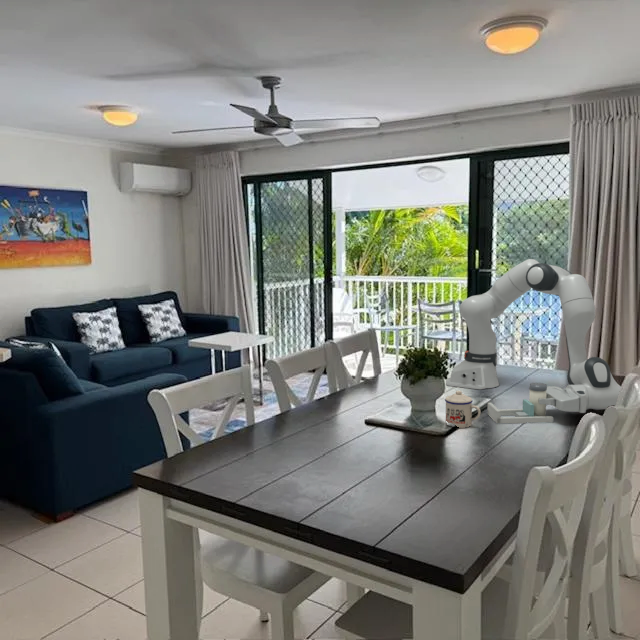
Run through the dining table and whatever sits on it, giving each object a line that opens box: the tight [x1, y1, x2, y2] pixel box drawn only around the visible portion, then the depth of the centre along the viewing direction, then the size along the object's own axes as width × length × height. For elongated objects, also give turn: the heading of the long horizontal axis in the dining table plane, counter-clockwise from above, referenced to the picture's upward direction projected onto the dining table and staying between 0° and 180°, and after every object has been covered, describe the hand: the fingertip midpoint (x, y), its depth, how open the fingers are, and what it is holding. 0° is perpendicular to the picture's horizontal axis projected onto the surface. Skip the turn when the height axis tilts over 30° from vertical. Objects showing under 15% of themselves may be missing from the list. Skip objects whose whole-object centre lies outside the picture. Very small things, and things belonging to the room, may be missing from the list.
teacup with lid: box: [444, 390, 481, 429], centre depth 205 cm, size 12×9×12 cm
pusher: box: [514, 399, 534, 417], centre depth 211 cm, size 4×7×6 cm, turn 1°
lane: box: [487, 402, 554, 424], centre depth 212 cm, size 19×11×4 cm, turn 91°
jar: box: [528, 382, 548, 416], centre depth 211 cm, size 6×6×11 cm
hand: (535, 398), depth 211 cm, fingers closed on jar, 5 cm apart
